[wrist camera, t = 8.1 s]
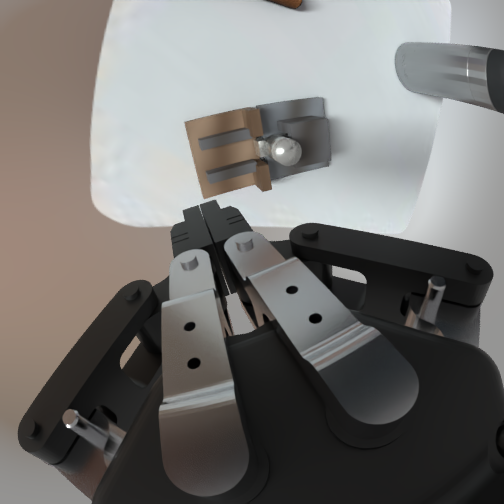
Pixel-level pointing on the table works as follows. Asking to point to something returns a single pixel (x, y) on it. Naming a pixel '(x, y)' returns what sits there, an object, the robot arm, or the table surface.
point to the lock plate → (242, 146)
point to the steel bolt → (278, 148)
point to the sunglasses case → (288, 3)
